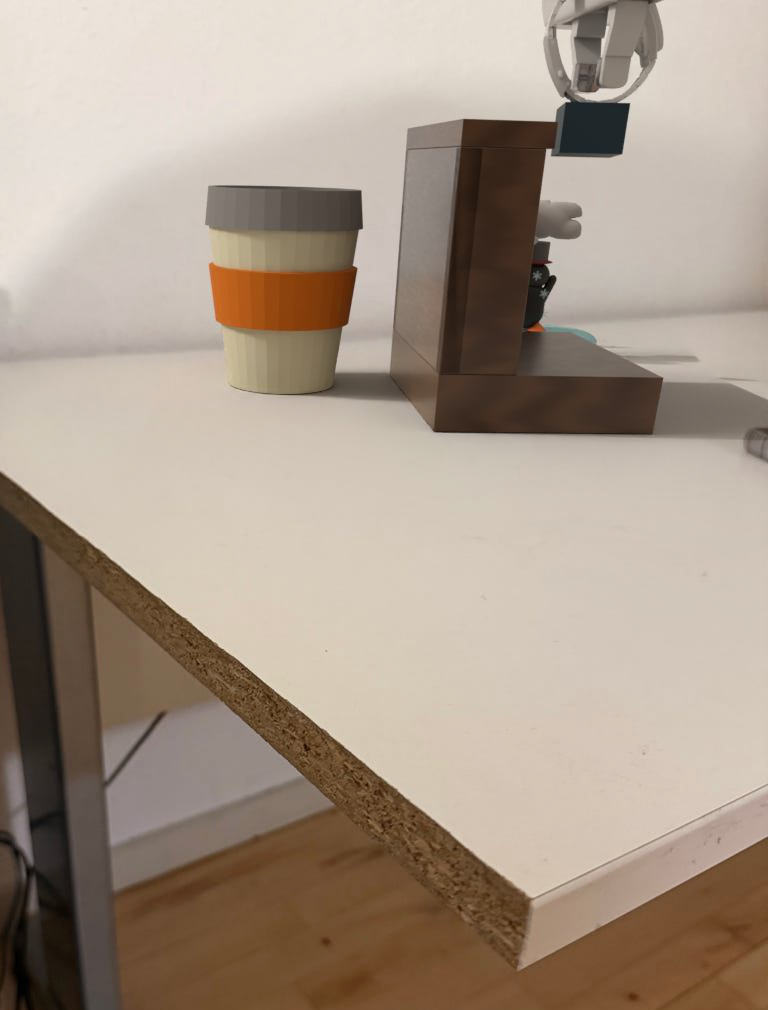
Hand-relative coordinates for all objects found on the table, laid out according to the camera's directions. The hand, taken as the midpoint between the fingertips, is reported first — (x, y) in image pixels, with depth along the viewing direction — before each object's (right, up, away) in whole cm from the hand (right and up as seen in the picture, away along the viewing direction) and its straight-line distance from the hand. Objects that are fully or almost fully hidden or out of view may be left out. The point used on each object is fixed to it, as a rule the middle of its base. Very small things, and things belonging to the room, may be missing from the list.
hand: (596, 90), depth 67 cm
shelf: (-4, -20, +10) cm, 22 cm away
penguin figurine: (-1, -9, +30) cm, 32 cm away
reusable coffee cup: (-22, -17, +14) cm, 31 cm away
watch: (0, -4, +2) cm, 4 cm away
